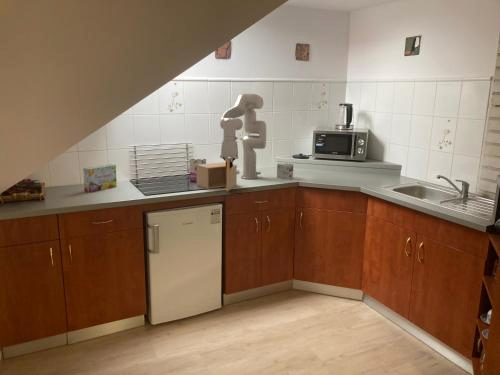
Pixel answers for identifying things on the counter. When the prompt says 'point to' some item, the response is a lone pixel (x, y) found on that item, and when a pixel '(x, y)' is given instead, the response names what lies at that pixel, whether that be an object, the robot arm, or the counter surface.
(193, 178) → the candy bar box
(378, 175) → the counter surface
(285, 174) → the light bulb box
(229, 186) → the flap
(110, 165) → the snack box
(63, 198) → the counter surface
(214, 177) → the carton
